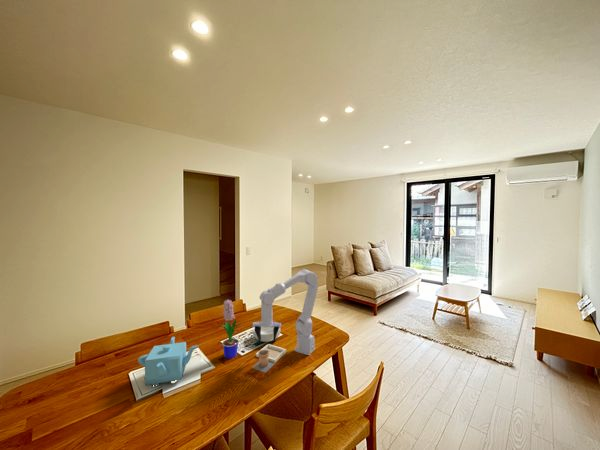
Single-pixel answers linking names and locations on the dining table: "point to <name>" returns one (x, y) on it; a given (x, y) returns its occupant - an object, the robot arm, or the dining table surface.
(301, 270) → the robot arm
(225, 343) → the hyacinth
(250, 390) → the dining table surface
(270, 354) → the square beige tray
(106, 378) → the dining table surface
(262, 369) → the coaster
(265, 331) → the cereal bowl
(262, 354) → the pot
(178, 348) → the teakettle
